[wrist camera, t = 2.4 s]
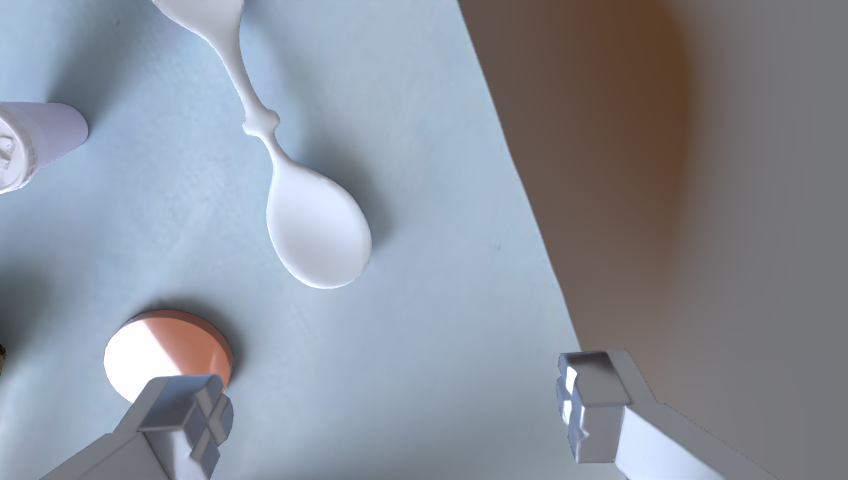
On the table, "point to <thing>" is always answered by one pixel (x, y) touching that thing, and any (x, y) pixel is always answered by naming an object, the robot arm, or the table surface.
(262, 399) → the table surface
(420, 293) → the table surface
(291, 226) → the spoon
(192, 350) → the plant saucer
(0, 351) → the green bumpy oval lump
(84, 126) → the smoothie
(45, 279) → the table surface
